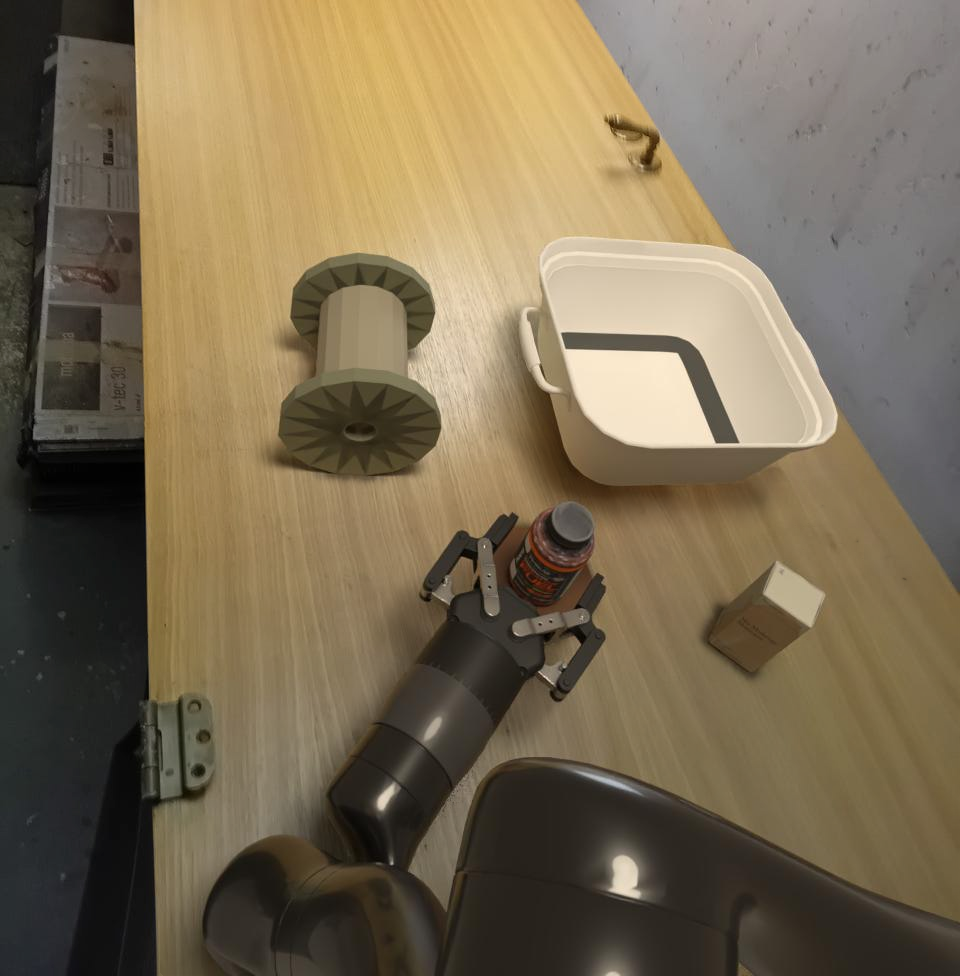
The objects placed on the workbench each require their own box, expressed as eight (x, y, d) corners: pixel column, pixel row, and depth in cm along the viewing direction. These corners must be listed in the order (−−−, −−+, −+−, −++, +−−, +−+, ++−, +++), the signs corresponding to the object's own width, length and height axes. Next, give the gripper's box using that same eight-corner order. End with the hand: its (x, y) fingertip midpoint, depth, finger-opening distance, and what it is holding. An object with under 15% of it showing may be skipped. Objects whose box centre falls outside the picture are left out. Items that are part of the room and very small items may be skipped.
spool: (424, 479, 87) (454, 389, 76) (274, 470, 83) (284, 374, 73) (420, 356, 98) (445, 263, 87) (287, 344, 94) (297, 245, 84)
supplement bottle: (498, 591, 80) (530, 532, 71) (518, 540, 84) (551, 479, 76) (556, 619, 79) (595, 562, 71) (573, 566, 83) (612, 507, 75)
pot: (518, 530, 85) (561, 448, 75) (474, 320, 104) (504, 230, 93) (807, 520, 95) (882, 445, 84) (720, 329, 113) (773, 248, 102)
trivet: (613, 596, 83) (615, 593, 82) (532, 659, 77) (534, 657, 76) (540, 511, 87) (541, 508, 87) (458, 565, 81) (459, 562, 81)
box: (706, 641, 82) (759, 590, 74) (722, 609, 85) (775, 556, 77) (754, 676, 80) (813, 628, 73) (768, 642, 83) (827, 592, 75)
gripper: (544, 753, 56) (643, 578, 67) (376, 622, 60) (496, 475, 70) (515, 784, 62) (611, 618, 72) (363, 663, 65) (476, 521, 76)
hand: (554, 548), depth 71 cm, fingers open, 8 cm apart
